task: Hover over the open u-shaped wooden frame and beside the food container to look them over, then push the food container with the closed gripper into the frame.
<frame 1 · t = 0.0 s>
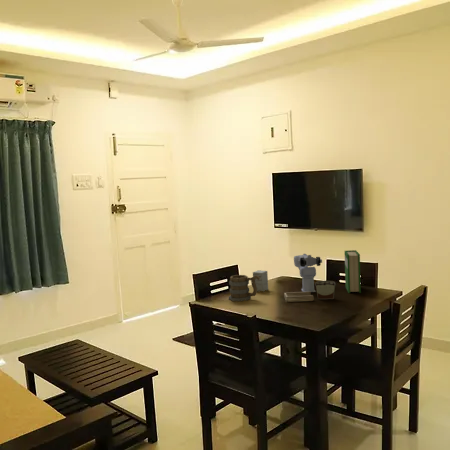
hand: (312, 262, 289), 22 cm above the table, tool horizontal, fingers open, 7 cm apart
supplement box: (260, 290, 319), on the table
hardback book: (352, 290, 307), on the table
tankard: (245, 299, 297), on the table
open u-shaped wooden frame: (299, 299, 290), on the table
food container: (325, 298, 290), on the table
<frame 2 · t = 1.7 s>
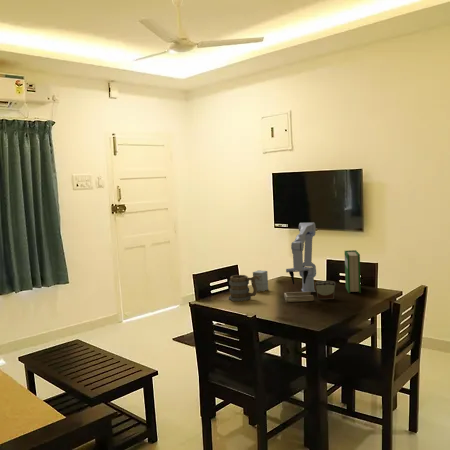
hand: (298, 283, 289), 9 cm above the table, tool pointing down, fingers open, 6 cm apart
nothing on the table moved.
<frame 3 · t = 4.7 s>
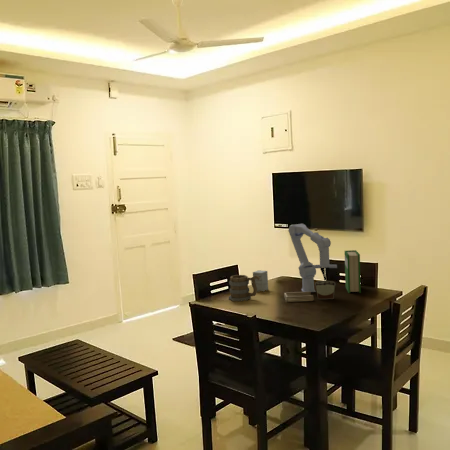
hand: (325, 279, 296), 10 cm above the table, tool pointing down, fingers closed
nothing on the table moved.
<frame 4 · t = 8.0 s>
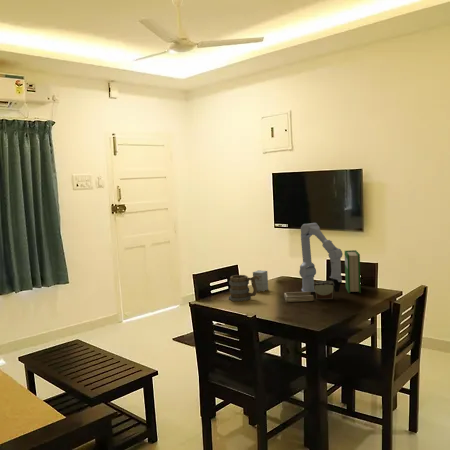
hand: (336, 291, 290), 3 cm above the table, tool pointing down, fingers closed
food container: (324, 298, 290), on the table, touching gripper
everything else where it was.
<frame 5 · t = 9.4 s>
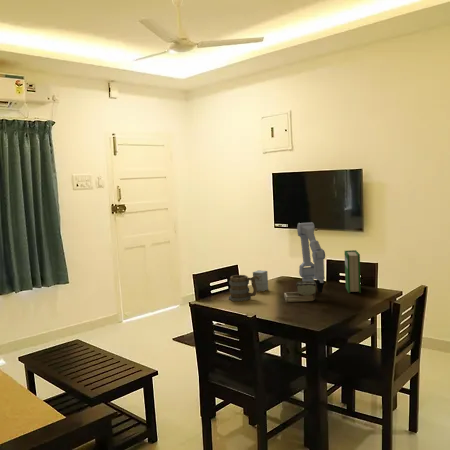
hand: (320, 292, 290), 3 cm above the table, tool pointing down, fingers closed
food container: (307, 298, 291), on the table, touching gripper
everything else where it was.
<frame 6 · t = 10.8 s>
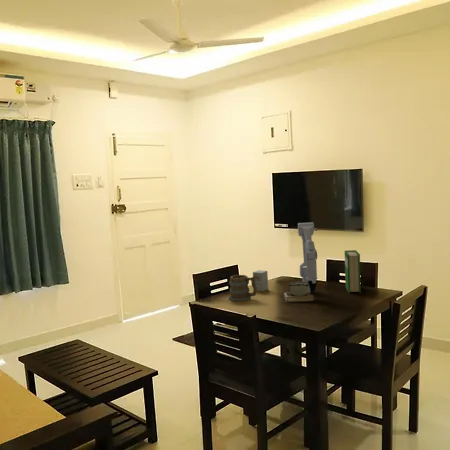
hand: (312, 292, 290), 3 cm above the table, tool pointing down, fingers closed
food container: (299, 298, 291), on the table, touching gripper
everything else where it was.
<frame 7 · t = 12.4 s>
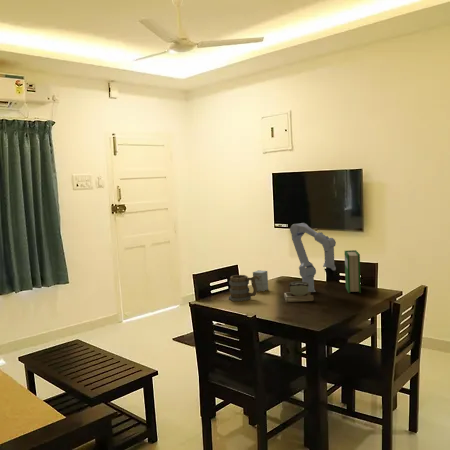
hand: (330, 280, 295), 9 cm above the table, tool pointing down, fingers closed
food container: (299, 298, 291), on the table
everything else where it was.
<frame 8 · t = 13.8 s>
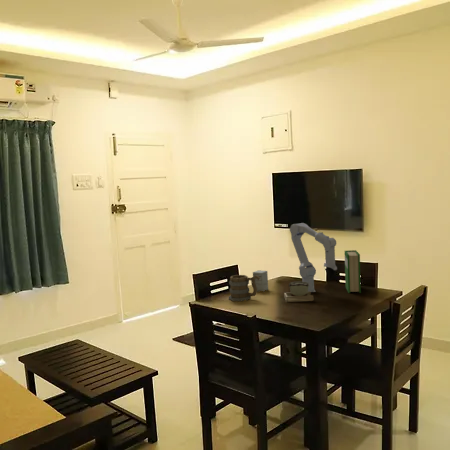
hand: (330, 279, 296), 9 cm above the table, tool pointing down, fingers closed
nothing on the table moved.
at the end: food container 1.1 cm from the target spot, on the table; food container tilted 0°; food container moved 15.1 cm from its start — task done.
